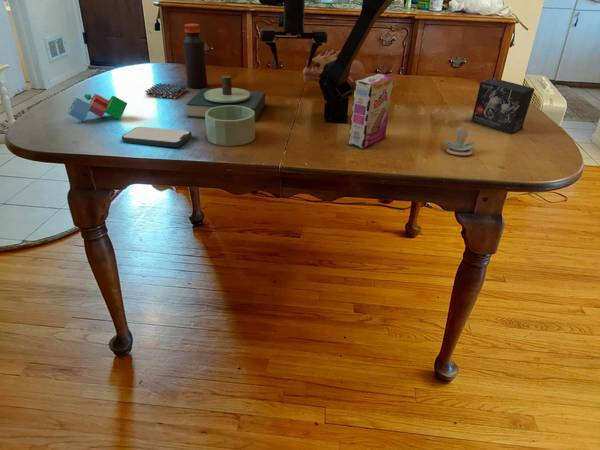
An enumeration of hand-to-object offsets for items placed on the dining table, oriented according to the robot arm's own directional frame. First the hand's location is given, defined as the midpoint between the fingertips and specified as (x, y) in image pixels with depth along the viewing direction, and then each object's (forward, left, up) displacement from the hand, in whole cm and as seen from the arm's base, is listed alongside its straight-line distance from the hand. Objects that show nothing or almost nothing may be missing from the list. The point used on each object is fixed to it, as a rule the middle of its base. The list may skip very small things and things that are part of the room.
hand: (293, 66), depth 134 cm
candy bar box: (-23, +22, -13) cm, 34 cm away
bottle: (+36, -19, -13) cm, 43 cm away
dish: (+13, +25, -13) cm, 31 cm away
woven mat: (+43, -8, -13) cm, 46 cm away
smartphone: (+31, +31, -13) cm, 46 cm away
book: (+19, +5, -13) cm, 23 cm away
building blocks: (+52, +20, -13) cm, 57 cm away
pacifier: (-46, +25, -13) cm, 54 cm away
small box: (-61, +2, -13) cm, 63 cm away
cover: (+19, +5, -8) cm, 21 cm away
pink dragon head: (-12, -22, -13) cm, 28 cm away
